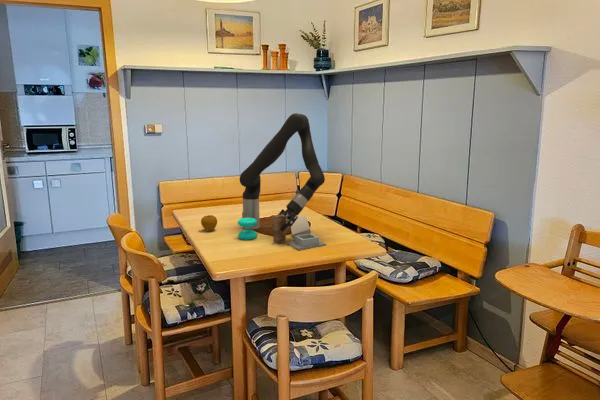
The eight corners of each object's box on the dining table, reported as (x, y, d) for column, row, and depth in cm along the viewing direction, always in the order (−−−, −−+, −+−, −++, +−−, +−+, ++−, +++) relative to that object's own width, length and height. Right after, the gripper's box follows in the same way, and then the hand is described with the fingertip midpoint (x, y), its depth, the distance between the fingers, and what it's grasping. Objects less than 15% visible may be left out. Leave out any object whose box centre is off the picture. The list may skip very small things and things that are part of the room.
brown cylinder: (277, 244, 230) (276, 217, 227) (273, 242, 233) (273, 215, 230) (285, 242, 232) (285, 215, 229) (282, 240, 236) (282, 214, 233)
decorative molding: (294, 243, 242) (312, 238, 242) (291, 234, 241) (310, 229, 241) (291, 226, 275) (307, 222, 275) (289, 219, 274) (305, 214, 274)
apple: (209, 227, 261) (209, 212, 259) (221, 230, 256) (220, 214, 254) (198, 231, 254) (197, 215, 252) (209, 233, 249) (208, 217, 247)
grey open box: (298, 250, 220) (298, 241, 219) (287, 244, 229) (287, 236, 228) (326, 245, 228) (326, 237, 227) (314, 240, 237) (314, 231, 236)
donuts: (243, 216, 245) (260, 217, 242) (243, 234, 247) (260, 236, 244) (234, 220, 236) (251, 222, 233) (234, 239, 238) (252, 241, 235)
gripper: (286, 197, 238) (266, 221, 235) (299, 202, 226) (279, 227, 223) (295, 206, 242) (275, 230, 238) (308, 211, 230) (288, 236, 226)
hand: (277, 228), depth 231 cm, fingers open, 8 cm apart
